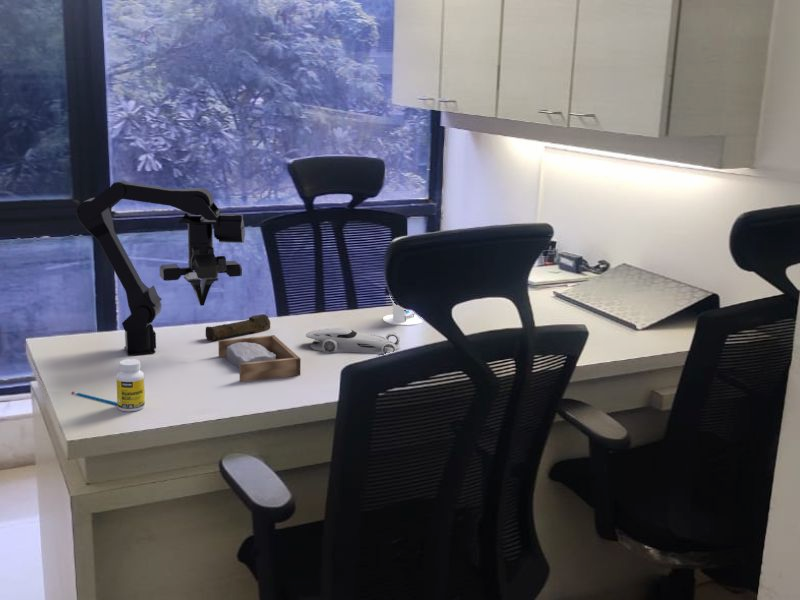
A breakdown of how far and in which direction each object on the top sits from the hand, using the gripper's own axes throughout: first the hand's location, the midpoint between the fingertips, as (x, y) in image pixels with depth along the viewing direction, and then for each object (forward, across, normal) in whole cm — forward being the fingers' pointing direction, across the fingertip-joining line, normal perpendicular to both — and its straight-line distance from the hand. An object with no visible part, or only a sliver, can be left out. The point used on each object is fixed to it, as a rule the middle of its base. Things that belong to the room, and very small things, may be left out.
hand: (201, 305), depth 218 cm
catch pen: (+12, +10, -14) cm, 21 cm away
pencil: (+12, -27, -26) cm, 40 cm away
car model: (+13, +37, -8) cm, 40 cm away
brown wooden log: (+12, +12, +13) cm, 22 cm away
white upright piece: (+12, +60, +12) cm, 62 cm away
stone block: (+13, +10, -11) cm, 19 cm away
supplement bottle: (+12, -22, -32) cm, 41 cm away
